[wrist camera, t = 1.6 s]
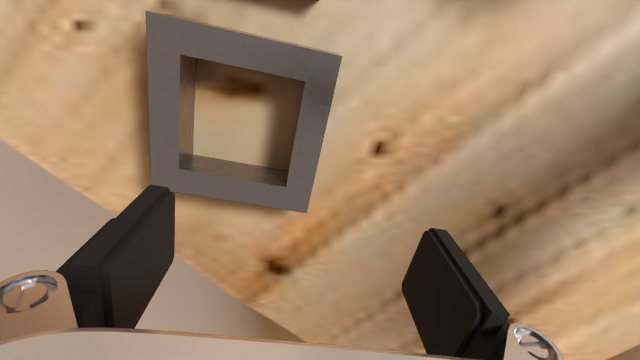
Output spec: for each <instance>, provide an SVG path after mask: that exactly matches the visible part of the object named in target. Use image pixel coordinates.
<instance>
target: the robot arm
mask: <svg viewBox="0 0 640 360" xmlns="http://www.w3.org/2000/svg"><path fill="white" fill-rule="evenodd" d="M174 237H175V194H174V192H170V189H169V188H168V187H163V186H157V185H149V186H148V187H147V188H146V189H145V190H144V191H143V192H142V193H141V194H140V195H139V196H138V197H137V198H136V199H135V200H134V201H133V202H132V203H130V204H129V205H128V206H127V207H126V208H125V209H124V210H123V211H122V212H121V213H120V214H119V215H118V216H117V217H116V218H113V219H111V220H110V221H108V222H107V223H106V224H105V225H104V226H103V227H102V228H101V229H100V230H99V231H98V232H97V233H96V234H95V235H94V236H93V237H92V238H90V239H89V240H88V241H87V242H86V243H85V244H84V245H83V246H82V247H81V248H80V249H79V250H78V251H77V252H76V253H75V254H74V255H73V256H71V257H70V258H69V259H68V260H67V261H66V262H65V263H64V264H63V265H62V266H61V267H60V268H59V269H58V270H57V271H56V272H53V271H48V270H42V271H31V272H26V273H22V274H19V275H16V276H13V277H10V278H8V279H6V280H4V281H2V282H0V360H564V358H563V355H562V354H561V352H560V350H559V349H558V347H557V346H556V345H555V344H554V343H553V342H552V341H551V340H550V339H549V338H548V337H546V336H545V335H544V334H542V333H541V332H539V331H538V330H536V329H534V328H532V327H530V326H528V325H525V324H521V323H514V324H511V325H509V324H508V322H507V321H506V320H507V318H508V317H509V315H510V314H509V313H508V311H507V310H506V309H505V307H504V306H503V305H502V303H501V302H500V301H499V299H498V298H497V297H496V295H495V294H494V293H493V291H492V290H491V289H490V287H489V286H488V285H487V283H486V282H485V281H484V279H483V278H482V277H481V275H480V274H479V273H478V271H477V270H476V269H475V267H474V266H473V265H472V263H471V262H470V261H469V259H468V258H467V257H466V255H465V254H464V253H463V251H462V250H461V249H460V247H459V246H458V245H457V243H456V242H455V241H454V240H453V238H452V237H451V236H450V234H449V233H448V232H447V231H446V230H442V229H435V228H430V229H429V230H428V231H425V232H424V233H423V236H422V238H421V240H420V243H419V245H418V247H417V250H416V252H415V254H414V257H413V259H412V261H411V264H410V266H409V268H408V270H407V273H406V275H405V277H404V280H403V282H402V292H403V294H404V297H405V299H406V302H407V305H408V307H409V310H410V312H411V315H412V317H413V320H414V322H415V325H416V327H417V330H418V332H419V335H420V337H421V340H422V342H423V345H424V347H425V350H426V353H427V354H420V353H410V352H400V351H390V350H379V349H369V348H358V347H347V346H337V345H326V344H315V343H303V342H292V341H281V340H270V339H258V338H246V337H235V336H223V335H212V334H200V333H188V332H173V331H160V330H145V329H134V328H135V326H136V325H137V323H138V321H139V319H140V318H141V316H142V314H143V312H144V311H145V309H146V307H147V305H148V304H149V302H150V300H151V298H152V297H153V295H154V293H155V291H156V290H157V288H158V286H159V285H160V283H161V281H162V279H163V278H164V276H165V274H166V272H167V271H168V269H169V267H170V265H171V264H172V261H173V258H174Z"/></svg>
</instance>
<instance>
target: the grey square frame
mask: <svg viewBox="0 0 640 360" xmlns="http://www.w3.org/2000/svg"><path fill="white" fill-rule="evenodd" d="M146 37H147V70H148V103H149V136H150V169H151V185H157V186H163V187H168V188H169V189H170V191H172V192H178V193H184V194H191V195H197V196H203V197H209V198H216V199H222V200H228V201H234V202H241V203H247V204H253V205H259V206H266V207H272V208H278V209H284V210H291V211H297V212H303V213H307V209H308V205H309V200H310V196H311V191H312V187H313V182H314V178H315V174H316V169H317V165H318V160H319V156H320V151H321V147H322V143H323V138H324V134H325V129H326V125H327V120H328V116H329V112H330V107H331V103H332V98H333V94H334V90H335V85H336V81H337V76H338V72H339V67H340V63H341V59H342V56H341V55H339V54H337V53H333V52H328V51H324V50H320V49H315V48H311V47H307V46H302V45H298V44H294V43H289V42H285V41H281V40H276V39H272V38H268V37H263V36H259V35H255V34H250V33H246V32H242V31H237V30H233V29H229V28H224V27H220V26H216V25H211V24H207V23H203V22H198V21H194V20H190V19H185V18H181V17H177V16H172V15H168V14H162V13H156V12H149V11H146ZM196 58H199V59H204V60H209V61H213V62H218V63H223V64H227V65H232V66H237V67H241V68H246V69H250V70H255V71H260V72H264V73H269V74H274V75H278V76H283V77H287V78H292V79H297V80H301V81H305V82H304V88H303V93H302V99H301V104H300V110H299V115H298V121H297V126H296V132H295V137H294V143H293V148H292V154H291V159H290V164H289V170H288V171H283V170H277V169H272V168H266V167H260V166H255V165H249V164H243V163H238V162H232V161H226V160H220V159H215V158H209V157H203V156H198V155H193V130H194V101H195V71H196Z"/></svg>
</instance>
